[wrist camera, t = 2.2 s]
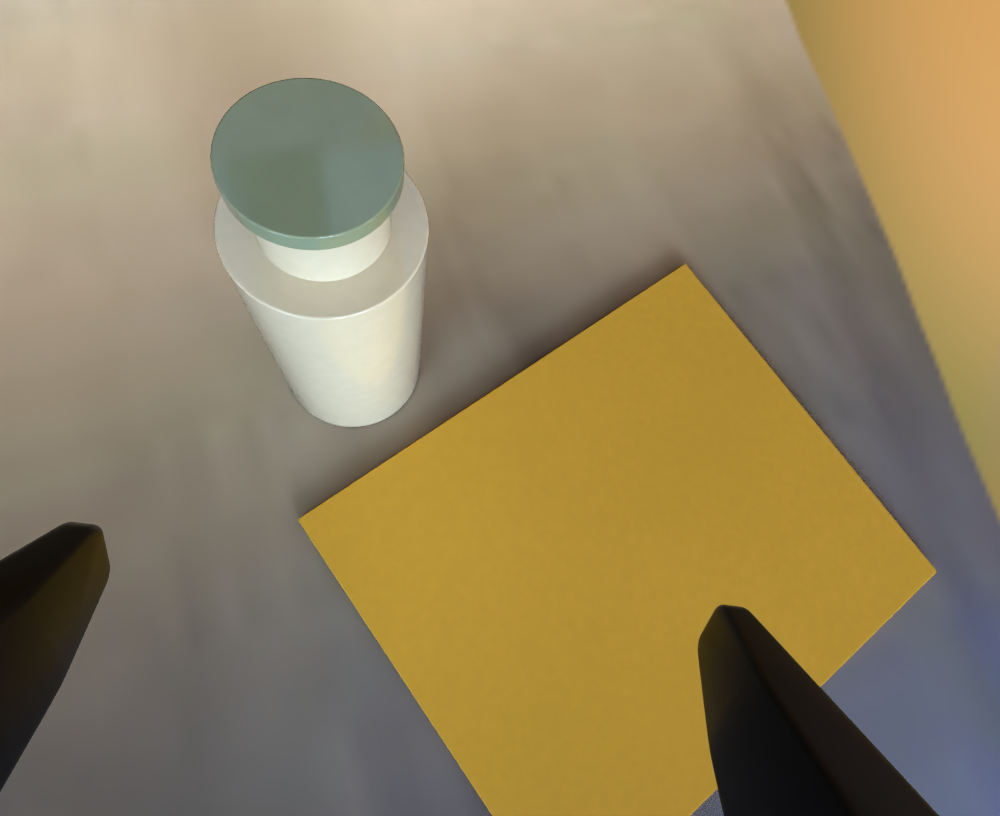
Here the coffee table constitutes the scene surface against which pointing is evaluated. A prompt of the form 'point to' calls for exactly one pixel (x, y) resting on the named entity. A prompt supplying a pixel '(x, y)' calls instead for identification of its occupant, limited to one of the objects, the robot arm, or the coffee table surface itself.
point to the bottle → (324, 243)
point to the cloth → (611, 557)
